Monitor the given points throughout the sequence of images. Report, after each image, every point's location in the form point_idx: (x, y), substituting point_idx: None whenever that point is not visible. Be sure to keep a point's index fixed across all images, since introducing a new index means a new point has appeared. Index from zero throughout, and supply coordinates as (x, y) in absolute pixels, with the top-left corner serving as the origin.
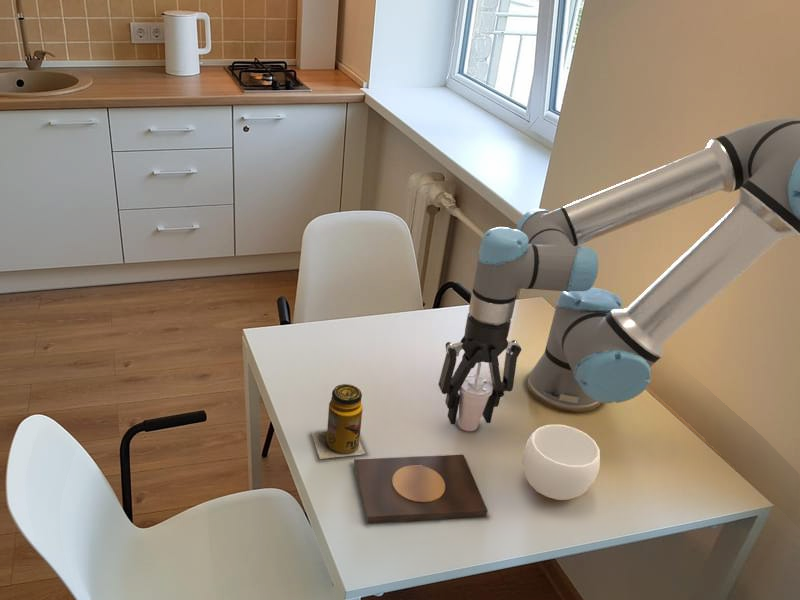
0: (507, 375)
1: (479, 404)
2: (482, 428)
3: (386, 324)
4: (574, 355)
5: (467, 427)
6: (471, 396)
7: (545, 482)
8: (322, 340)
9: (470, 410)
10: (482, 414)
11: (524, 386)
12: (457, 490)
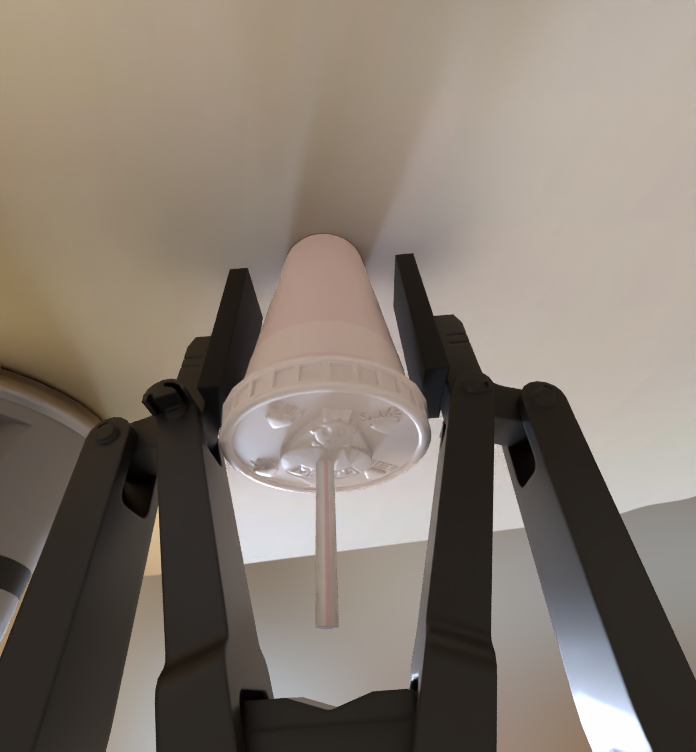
0: (106, 539)
1: (306, 326)
2: (263, 253)
3: (423, 530)
4: None
5: (337, 243)
6: (376, 368)
7: None
8: None
9: (348, 299)
10: (262, 317)
11: None
12: None
